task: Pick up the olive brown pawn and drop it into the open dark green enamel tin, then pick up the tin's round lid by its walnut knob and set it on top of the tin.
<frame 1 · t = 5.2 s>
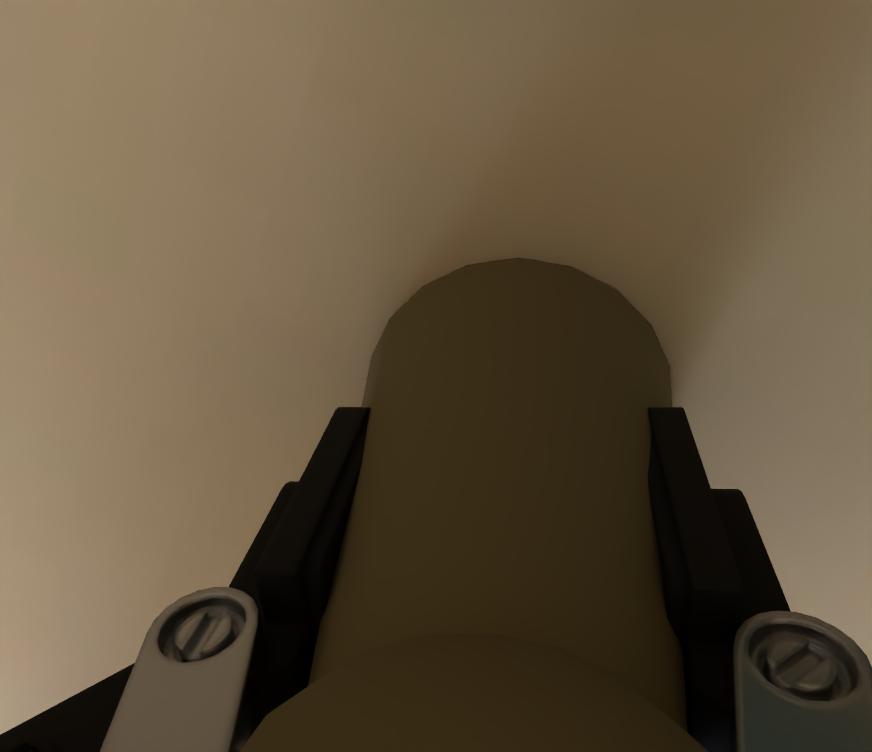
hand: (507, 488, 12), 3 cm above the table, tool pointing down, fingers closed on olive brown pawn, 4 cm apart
olive brown pawn: (515, 398, 14), on the table, touching gripper
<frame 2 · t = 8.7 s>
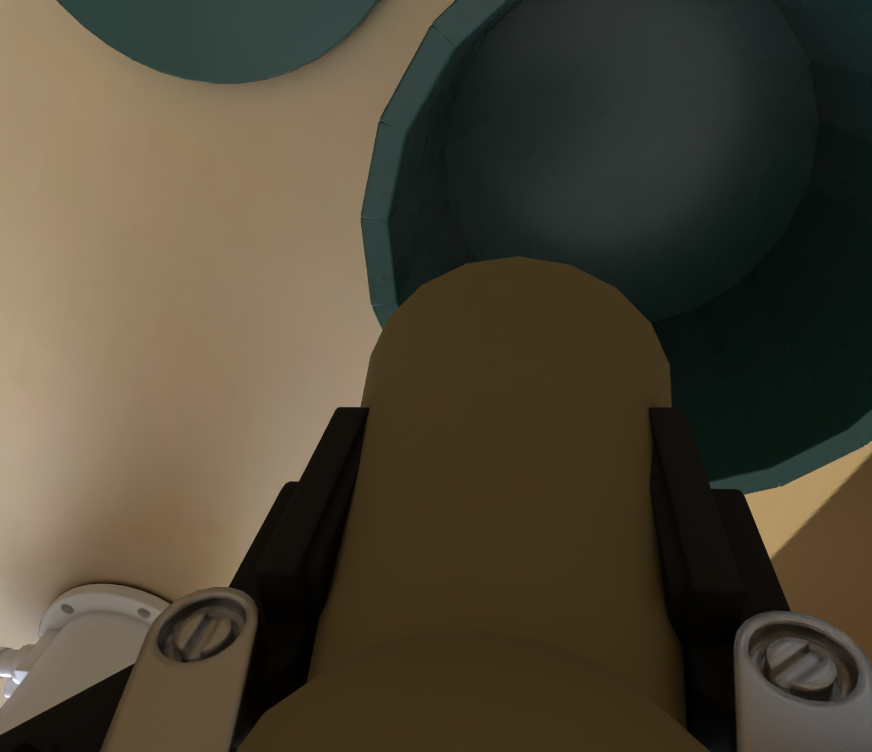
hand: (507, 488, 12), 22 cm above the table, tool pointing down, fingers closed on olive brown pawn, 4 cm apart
tin: (622, 159, 30), on the table
olive brown pawn: (515, 397, 14), point 19 cm above the table, touching gripper
when the fingers open (7 cm above the table, at t = 12.6 s): olive brown pawn drops 3 cm, resting on tin.
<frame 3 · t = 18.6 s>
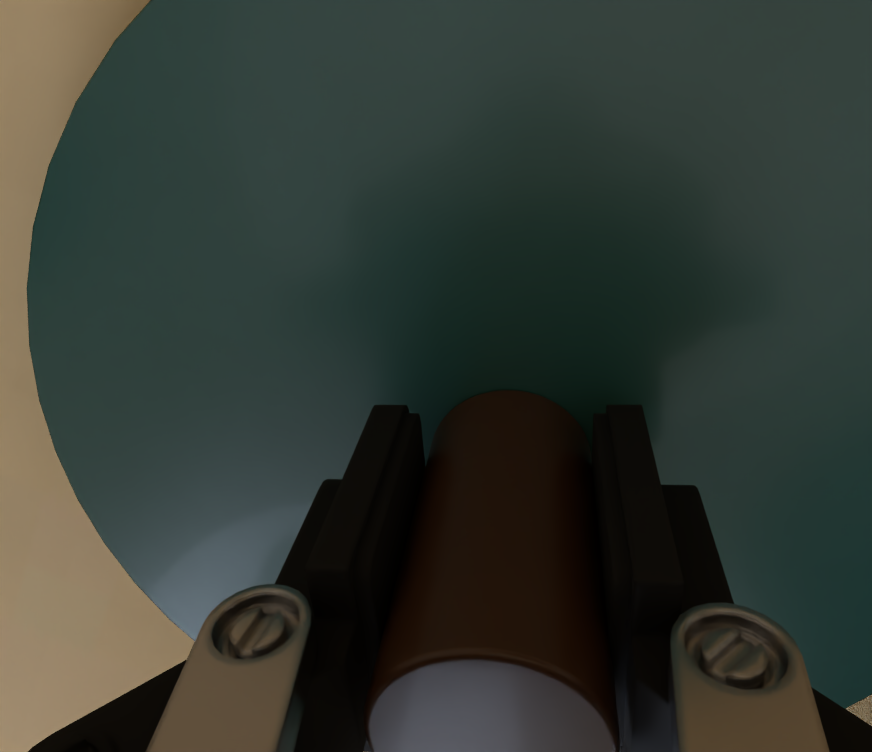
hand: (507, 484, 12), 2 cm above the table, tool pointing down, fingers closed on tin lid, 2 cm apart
tin lid: (511, 438, 13), point 1 cm above the table, touching gripper
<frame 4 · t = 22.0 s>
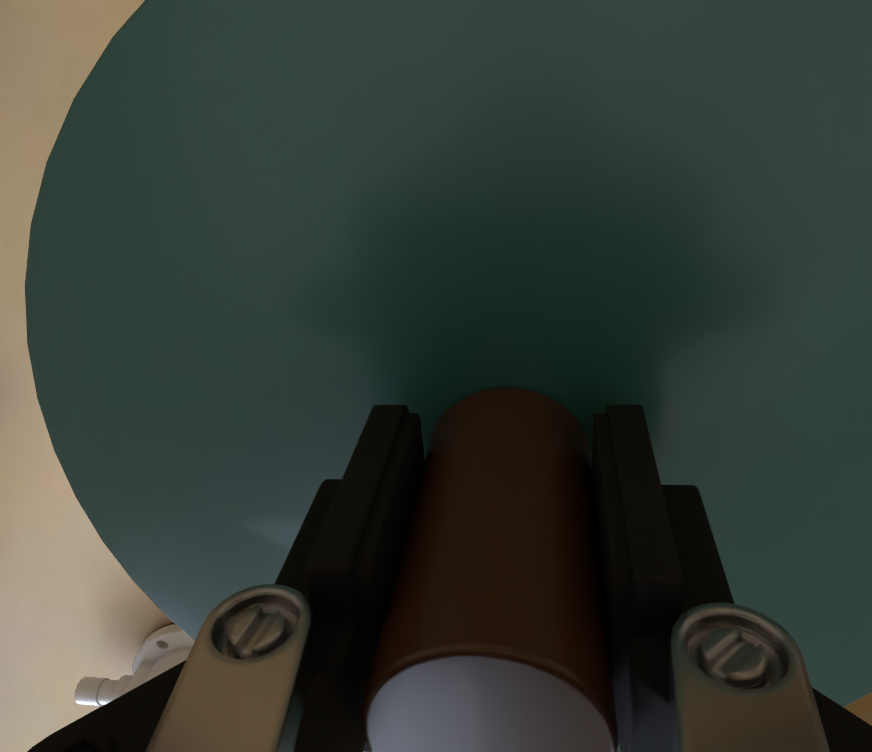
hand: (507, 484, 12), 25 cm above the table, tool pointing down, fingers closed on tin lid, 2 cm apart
tin lid: (510, 436, 13), point 24 cm above the table, touching gripper
when the fingers open (16 cm above the table, at t = 25.6 s): tin lid drops 1 cm, resting on tin.
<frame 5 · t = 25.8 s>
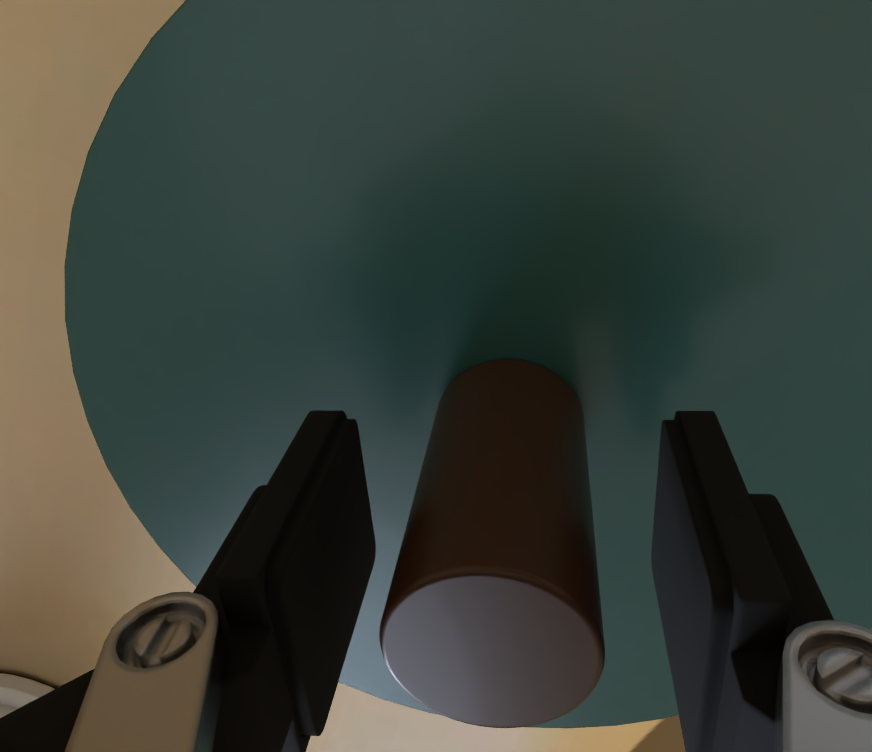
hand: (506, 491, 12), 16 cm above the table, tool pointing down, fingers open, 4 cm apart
tin lid: (510, 406, 14), point 13 cm above the table, touching tin
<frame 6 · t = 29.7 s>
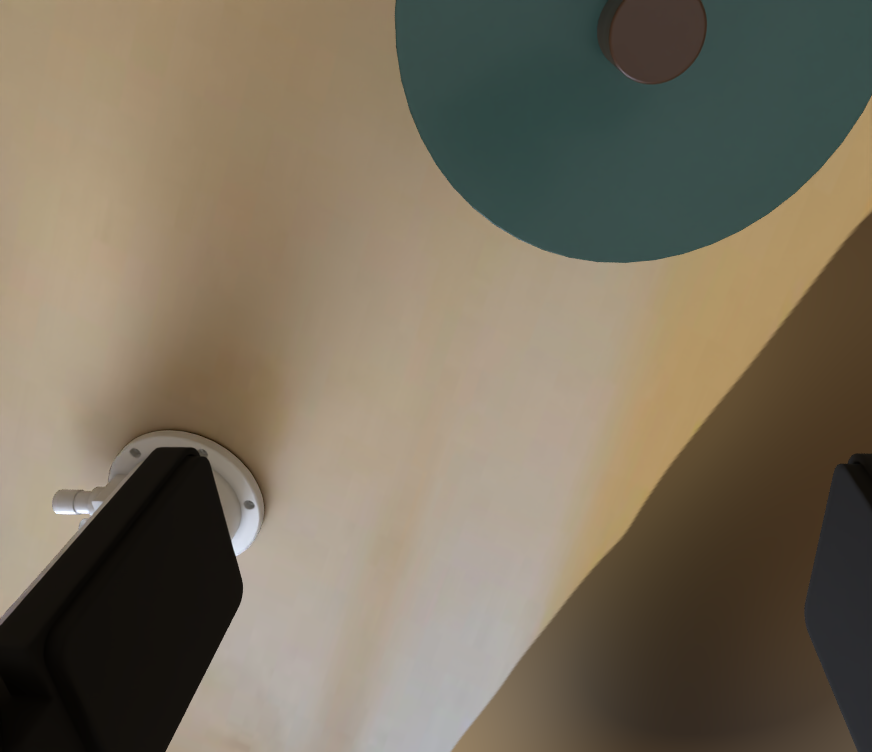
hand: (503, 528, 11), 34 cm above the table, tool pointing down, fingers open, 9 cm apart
tin lid: (634, 26, 26), point 13 cm above the table, touching tin
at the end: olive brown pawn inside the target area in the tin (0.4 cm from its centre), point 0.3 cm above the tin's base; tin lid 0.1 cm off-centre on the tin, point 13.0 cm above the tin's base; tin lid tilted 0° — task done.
